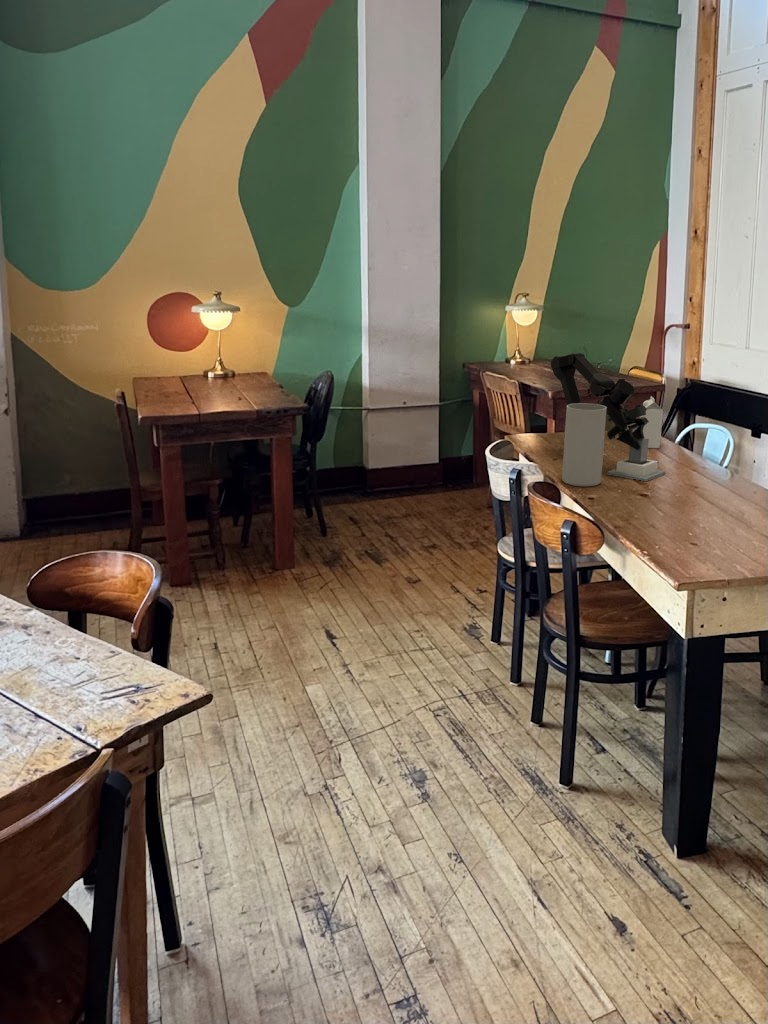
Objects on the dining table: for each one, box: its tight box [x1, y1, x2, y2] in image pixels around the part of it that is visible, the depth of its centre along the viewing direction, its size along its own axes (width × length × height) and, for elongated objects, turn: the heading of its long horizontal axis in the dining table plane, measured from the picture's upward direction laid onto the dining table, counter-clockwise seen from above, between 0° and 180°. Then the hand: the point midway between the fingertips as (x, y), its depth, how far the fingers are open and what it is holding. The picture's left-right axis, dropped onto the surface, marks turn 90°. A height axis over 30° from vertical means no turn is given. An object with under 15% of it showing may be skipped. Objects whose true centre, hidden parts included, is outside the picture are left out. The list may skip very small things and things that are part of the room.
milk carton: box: [639, 395, 664, 449], centre depth 338 cm, size 7×7×19 cm
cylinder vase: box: [561, 402, 607, 488], centre depth 286 cm, size 12×12×25 cm
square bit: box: [628, 437, 649, 465], centre depth 298 cm, size 4×4×10 cm
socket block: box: [607, 457, 666, 482], centre depth 299 cm, size 14×14×4 cm
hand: (642, 448), depth 296 cm, fingers closed on square bit, 4 cm apart
